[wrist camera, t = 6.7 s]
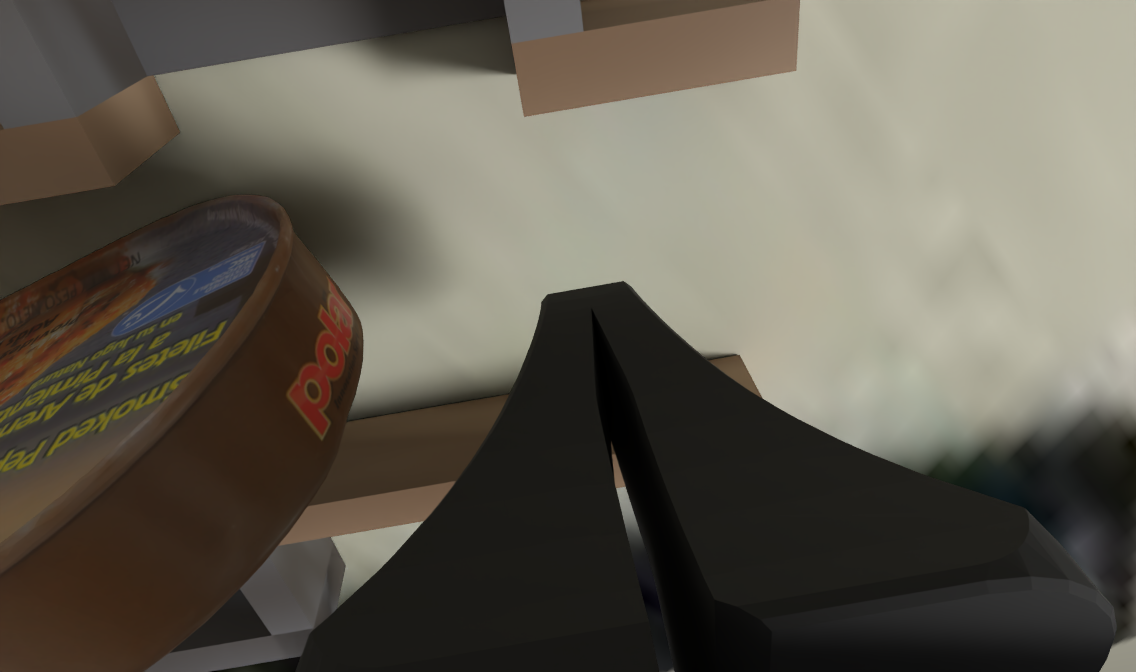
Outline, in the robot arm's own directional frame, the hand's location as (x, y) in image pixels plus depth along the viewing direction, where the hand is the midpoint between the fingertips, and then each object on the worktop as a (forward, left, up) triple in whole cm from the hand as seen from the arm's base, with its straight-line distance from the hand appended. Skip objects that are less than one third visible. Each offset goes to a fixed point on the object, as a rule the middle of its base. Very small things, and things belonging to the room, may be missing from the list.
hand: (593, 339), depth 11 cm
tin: (-1, +11, -4) cm, 12 cm away
